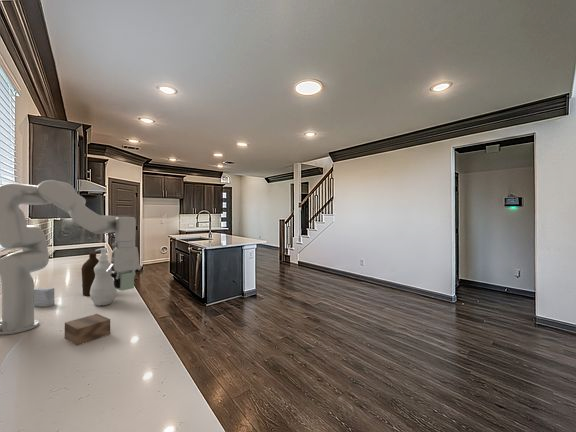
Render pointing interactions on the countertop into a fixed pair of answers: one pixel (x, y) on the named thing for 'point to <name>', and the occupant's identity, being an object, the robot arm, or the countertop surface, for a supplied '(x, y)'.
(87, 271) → the olive oil
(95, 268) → the white vase
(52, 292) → the medicine box
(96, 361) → the countertop surface
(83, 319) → the walnut riser
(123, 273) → the sage block
